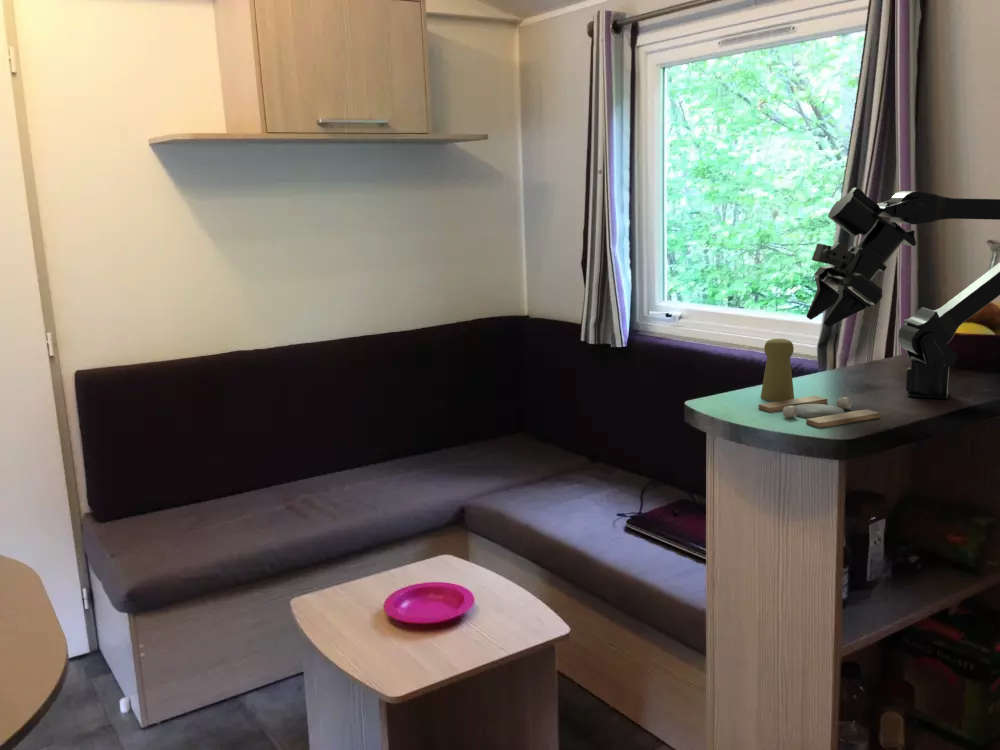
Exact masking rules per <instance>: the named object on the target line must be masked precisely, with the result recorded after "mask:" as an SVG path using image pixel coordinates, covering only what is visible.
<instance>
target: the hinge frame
mask: <svg viewBox="0 0 1000 750" xmlns="http://www.w3.org/2000/svg"><path fill="white" fill-rule="evenodd" d="M828 400H829V399H828V398H826V397H822V396H819V395H818V396H817V395H811V396H805V397H798V398H794V399H791V400H784V401H770V402H765V403H760V404H758V410H761V411H765V412H767V413H774V412H781V411H782V415H783V417H784V418H786V419H790V418H795V417H800V418H802V419H806V423H805V425H809V426H812V427H815V428H818V429H821V427H822V428H825V427H833V426H838V425H844V424H851V423H856V422H862V421H868V420H873V419H879V418H880V412H877V411H874V410H871V409H859V410H853V411H848V412H845V410H846V409H850V408H851V407H852V400H851V398H849V396H845V397H839V398H838V399H837V401H836V405H830V404H828Z"/></svg>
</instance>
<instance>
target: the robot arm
mask: <svg viewBox="0 0 1000 750" xmlns="http://www.w3.org/2000/svg"><path fill="white" fill-rule="evenodd" d="M827 217H828V218H829V219H830V220H831V221H832V222H834V223H835V224H836V225H838V226H839V227H840V228H842V229H843V230H844V231H846V232H847V233H848V234H849V235H850V236H852V237H856V236H858V235H861V236H863V238H862V239H861V241H860V242H859V243H858V244H857V246H853V245H852V246H849V247H848V244H846V243H842V242H835V243H834V244H833V245H832V246H831V245H828V244H822V243H817V244H816V247H815V249H814V252H813V255H812V258H811V261H814V262H817V263H818V262H819V263H822V264H825V265H824V266H819V267H818V268H817V269H816V271H815V272H814V273H813V275H814V276H815V277H814V282H815V284H816V285H815V286H816V292H815V293H814V297H813V299H812V302H811V304H810V305H809V309H808V311H807V314H806V315H805V316H806V318H807V319H808V320H813V319H814V318H817V317H818V316H819V315H821V314H822V313H824V312H825V311H827V310H828V309H830V308H831V307H832V308H831V309H830V311H829V312H828V314H827V315H826V317H825V320H824V321H823V323H822V324H823V325H824V326H825V327H827V328H830V327H832V326H833V325H835V324H837V323H839V322H841V321H842V320H845V319H847V318H849V317H851V316H852V315H854V314H857V313H858V312H861V311H863V310H865V309H869V308H871V305H874V306H877V304H878V303H879V302H880V300H881V299H882V298H883V289H882V288H881V287H880V286H878V285H877V284H876V283H875V282H873V281H872V280H873V279H874V278H875V277H876V275H877V274H878V273H879V272H884V271H886V269H887V268H888V266H886V265H885V264H886V263H887V262H888V260H889V259H890V258H891V257H892V255H893V254H894V253H895V252H896V250H897V249H898V248H899V247H900V245H902V244H903V245H904V246H910V247H915V246H916V245H917V241H916V237H915V233H916V231H915V230H912V229H908V230H906V229H905V228H903V227H902V226H900V225H899V224H904V225H922V224H928V223H934V222H940V221H943V220H950V219H951V220H956V219H957V220H960V219H961V220H997V221H998V220H1000V198H966V197H965V198H962V197H961V198H959V197H956V198H955V197H953V198H952V197H947V196H943V195H939V194H935V193H931V192H924V191H919V190H915V191H914V190H903V191H902V190H901V191H898V192H895V193H894V195H892V196H891V197H890V199H889V200H886V201H883V202H878V203H876V202H875V201H874V200H872V199H871V198H870V197H868V196H867V195H866V194H865V192H864V191H863V190H862V189H860V188H859V187H852V189H851V190H850V191H849V192H848V193H846V194H845V195H843V197H841V198H840V199H839V200H837V201H836V202H835V203H834V204H833V206H832V207H831V208H830V210H829V213H828V216H827ZM882 217H883V218H885V217H886V218H890V219H891V220H892V221H891V222H888V221H886V220H885V219H883V218H882ZM827 264H829V265H827ZM998 297H1000V262H998V263H997V264H995V265H994V266H993V267H992V268H990V269H989V270H988V271H986V272H985V273H984V274H983V275H981V276H980V277H979V278H977V279H976V280H975V281H973V282H972V283H970V284H969V285H968V286H967V287H966V288H965V289H963V290H962V291H960V292H959V293H957V295H955V296H954V297H952V299H950V300H948V301H947V302H946V303H944V304H943V305H942V306H941V307H939V308H937V309H933V310H932V309H930V308H927V307H923V306H921V308H919V309H917V311H916V312H915V313H914V314H913V315H912V316H910V317H909V318H906V319H903V322H904V323H903V325H902V326H901V327H900V328H899V330H898V343H899V344H900V347H902V348H903V349H904V350H905V352H906V354H907V357H908V358H909V359H911V362H910V366H908V367H907V369H906V384H905V385H906V386H905V391H906V392H907V396H908V397H913V398H914V397H915V398H925V399H926V398H927V399H939V400H941V399H942V400H947V399H948V396H949V389H948V388H949V386H948V385H949V376H950V373H949V372H950V367H953V366H955V363H956V362H957V359H958V357H959V356H958V353H956V351H954V350H953V348H951V346H949V345H948V344H949V343H950V342H951V341H952V340H953V338H954V337H955V334H956V332H957V331H958V329H959V327H960V326H962V324H964V323H966V321H968V320H969V319H971V318H972V317H973V316H974V315H976V314H977V313H978V312H980V311H981V310H982V309H984V308H985V307H986V306H988V305H989V304H991V303H992V302H993V301H994V300H996V299H997V298H998Z"/></svg>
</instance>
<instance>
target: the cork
mask: <svg viewBox="0 0 1000 750" xmlns="http://www.w3.org/2000/svg"><path fill="white" fill-rule="evenodd" d="M794 349H795V348H794V344H793V342H792V341H791V340H790V339H785V338H772V339H768V340H767V341H766V342H765V344H764V349H763V350H764V355H766V361H765V369H764V372H763V373H764V374H763V380H762V387H761V391H760V392H761V394H760V399H763V400H765V401H770V402H777V401H784V400H791V399H795V394H794V392H795V391H794V385H793V384H794V382H793V381H794V380H793V373H792V372H793V371H792V365H791V364H792V362H791V357H792V355H793V353H794Z"/></svg>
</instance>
